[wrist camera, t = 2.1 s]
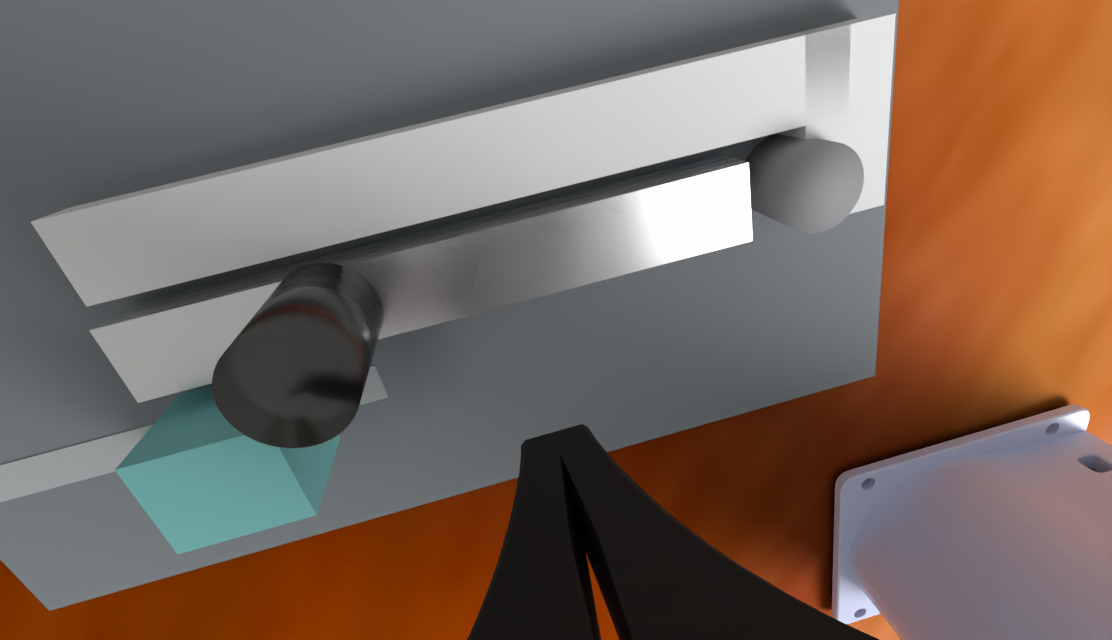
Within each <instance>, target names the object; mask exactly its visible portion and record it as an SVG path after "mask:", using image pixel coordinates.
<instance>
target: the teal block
mask: <svg viewBox="0 0 1112 640" xmlns="http://www.w3.org/2000/svg"><path fill="white" fill-rule="evenodd" d="M339 441H340V435H337V436H336V437H334V438H332V439H331V440H328V441H326V442H324V443H321V444H318V445H315V446H310V447H304V448H281V447H275V446H270V445H267V444H263V443H260V442H258V441H255V440H253V439H251V438H249V437H247V436H245V435H244V434H242V433H241V432H239V431H238V430H236V429H235V428H234V427H233V426H232V425H231V424H230V423H229V422H228V421H227V420H226V419H225V418H224V416H223V415H222V413H221V412H220V411H219V409H218V407H217V405H216V402H215V399H214V396H213V391H212V385H210V386H206V387H202V388H199V389H195V390H191V391H187V392H183V393H180V394H179V395H178V396H177V397H176V398H175V399H174V401H173V402H172V403H171V404H170V405H169V406H168V408H167V409H166V410H165V411H164V412H163V414H162V415H161V416H160V417H159V418H158V420H157V421H156V422H155V423H154V424H153V425H152V427H151V428H150V429H149V430H148V431H147V433H146V434H145V435H144V436H143V437H142V438H141V440H140V441H139V442H138V443H137V444H136V446H135V447H134V448H133V449H132V450H131V451H130V453H129V454H128V455H127V456H126V457H125V459H124V460H123V461H122V462H121V463H120V464H119V466H118V467H117V468H116V469H115V471H116V472H117V474H118V475H119V476H120V478H121V479H122V480H123V482H124V483H125V485H126V486H127V487H128V489H129V490H130V491H131V493H132V494H133V495H134V497H135V498H136V499H137V501H138V502H139V503H140V505H141V506H142V507H143V509H144V510H145V511H146V513H147V514H148V515H149V517H150V518H151V519H152V521H153V522H154V523H155V525H156V526H157V527H158V529H159V530H160V531H161V533H162V534H163V536H164V537H165V538H166V540H167V541H168V542H169V544H170V545H171V546H172V548H173V549H174V550H175V552H176V553H177V554H181V553H185V552H188V551H192V550H195V549H199V548H202V547H206V546H209V545H213V544H217V543H220V542H224V541H227V540H231V539H234V538H238V537H241V536H245V535H248V534H252V533H256V532H259V531H263V530H266V529H270V528H273V527H277V526H280V525H284V524H287V523H291V522H295V521H298V520H302V519H305V518H309V517H312V516H316V515H317V512H318V509H319V506H320V502H321V499H322V496H323V493H324V489H325V486H326V483H327V480H328V476H329V473H330V470H331V467H332V463H333V460H334V457H335V454H336V450H337V447H338V444H339Z"/></svg>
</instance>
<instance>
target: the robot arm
mask: <svg viewBox="0 0 1112 640" xmlns="http://www.w3.org/2000/svg"><path fill="white" fill-rule="evenodd" d="M1089 417H1090V413H1089V411H1088V410H1087V409H1085V408H1083V407H1081V406H1079V405H1076V404H1073V405H1068V406H1065V407H1061V408H1058V409H1054V410H1051V411H1048V412H1044V413H1041V414H1037V415H1034V416H1031V417H1027V418H1024V419H1021V420H1017V421H1014V422H1010V423H1007V424H1004V425H1000V426H997V427H993V428H990V429H987V430H983V431H980V432H976V433H973V434H970V435H966V436H963V437H959V438H956V439H953V440H949V441H946V442H943V443H939V444H936V445H932V446H929V447H926V448H922V449H919V450H915V451H912V452H909V453H905V454H902V455H898V456H895V457H892V458H888V459H885V460H881V461H878V462H875V463H871V464H868V465H865V466H861V467H858V468H854V469H851V470H848V471H845V472H843V473H842V474H841V475H840V476H839V477H838V478H837V480H836V483H835V507H834V545H833V582H832V615H833V617H834V618H835V619H834V618H832V617H830V616H828V615H826V614H824V613H822V612H820V611H819V610H817V609H815V608H813V607H811V606H809V605H807V604H806V603H804V602H802V601H800V600H798V599H796V598H794V597H792V596H791V595H789V594H787V593H785V592H784V591H782V590H780V589H779V588H777V587H775V586H774V585H772V584H770V583H769V582H767V581H765V580H764V579H762V578H760V577H759V576H757V575H755V574H754V573H752V572H750V571H749V570H747V569H745V568H744V567H742V566H740V565H739V564H737V563H736V562H734V561H733V560H731V559H730V558H728V557H727V556H725V555H724V554H722V553H721V552H720V551H718V550H717V549H715V548H714V547H712V546H711V545H709V544H708V543H707V542H705V541H704V540H703V539H701V538H700V537H699V536H697V535H696V534H694V533H693V532H692V531H690V530H689V529H688V528H687V527H685V526H684V525H683V524H682V523H680V522H679V521H678V520H677V519H675V518H674V517H673V516H672V515H671V514H669V513H668V512H667V511H666V510H665V509H664V508H662V507H661V506H660V505H659V504H658V503H657V502H656V501H654V500H653V499H652V498H651V497H650V496H649V495H648V494H647V493H646V492H645V491H644V490H642V489H641V488H640V487H639V486H638V485H637V484H636V483H635V482H634V481H633V480H632V479H631V478H630V477H629V476H628V475H627V474H626V473H625V472H624V471H623V470H622V469H621V467H620V466H619V465H618V464H617V463H616V462H615V461H614V460H613V459H612V458H611V456H610V455H609V454H608V453H607V452H606V451H605V449H604V448H603V447H602V446H601V445H600V443H599V442H598V441H597V439H596V438H595V437H594V435H593V434H592V432H591V431H590V429H589V427H587V426H585V425H583V424H580V425H576V426H573V427H569V428H566V429H562V430H559V431H555V432H552V433H548V434H545V435H541V436H538V437H534V438H531V439H527V440H525V441H524V442H523V444H522V445H521V460H520V470H519V477H518V484H517V490H516V495H515V499H514V504H513V508H512V513H511V517H510V522H509V526H508V529H507V533H506V536H505V539H504V543H503V546H502V550H501V553H500V557H499V560H498V563H497V566H496V569H495V572H494V575H493V578H492V581H491V583H490V586H489V589H488V592H487V594H486V597H485V599H484V602H483V604H482V607H481V610H480V612H479V614H478V617H477V619H476V621H475V623H474V626H473V628H472V630H471V633H470V635H469V637H468V639H467V640H601V636H600V630H599V625H598V619H597V613H596V608H595V602H594V596H593V591H592V585H591V579H590V574H589V568H588V562H587V557H586V553H587V556H588V559H589V561H590V564H591V566H592V569H593V572H594V574H595V577H596V579H597V582H598V585H599V587H600V590H601V593H602V595H603V598H604V600H605V603H606V606H607V608H608V611H609V613H610V616H611V619H612V621H613V624H614V626H615V629H616V632H617V634H618V637H619V639H620V640H879V639H877V638H874V637H872V636H870V635H868V634H866V633H864V632H861V631H859V630H857V629H855V628H853V627H851V626H849V625H847V624H849V623H852V622H856V621H859V620H862V619H865V618H868V617H872V616H875V615H878V614H881V615H882V616H883V617H884V618H885V620H886V621H887V622H888V624H889V625H890V626H891V627H892V629H893V630H894V631H895V632H896V634H897V635H898V636H899V638H900V639H901V640H1112V446H1111V445H1110V444H1108V443H1106V442H1104V441H1103V440H1101V439H1099V438H1097V437H1096V436H1094V435H1092V434H1090V433H1089V432H1087V431H1086V429H1087V425H1088V422H1089Z"/></svg>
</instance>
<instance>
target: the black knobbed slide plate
mask: <svg viewBox="0 0 1112 640" xmlns="http://www.w3.org/2000/svg"><path fill="white" fill-rule="evenodd" d="M750 241H753V237H752V217H751V197H750V177H749V162H745V161H742V160H739V159H736V158H733V157H730V156H727V155H721V156H717V157H713V158H709V159H705V160H701V161H697V162H693V163H689V164H685V165H681V166H678V167H674V168H670V169H666V170H662V171H658V172H654V173H650V174H646V175H642V176H638V177H634V178H630V179H626V180H622V181H618V182H614V183H610V184H606V185H602V186H598V187H594V188H590V189H587V190H583V191H579V192H575V193H571V194H567V195H563V196H559V197H555V198H551V199H547V200H543V201H539V202H535V203H531V204H527V205H523V206H519V207H515V208H511V209H507V210H503V211H499V212H496V213H492V214H488V215H484V216H480V217H476V218H472V219H468V220H464V221H460V222H456V223H452V224H448V225H444V226H440V227H436V228H432V229H428V230H424V231H420V232H416V233H412V234H408V235H405V236H401V237H397V238H393V239H389V240H385V241H381V242H377V243H373V244H369V245H365V246H361V247H357V248H353V249H349V250H345V251H341V252H337V253H333V254H329V255H325V256H321V257H317V258H314V259H310V260H306V261H302V262H298V263H294V264H290V265H286V266H282V267H278V268H274V269H270V270H266V271H262V272H258V273H254V274H250V275H246V276H242V277H238V278H234V279H230V280H226V281H223V282H219V283H215V284H211V285H207V286H203V287H199V288H195V289H191V290H187V291H183V292H179V293H175V294H171V295H167V296H163V297H159V298H155V299H151V300H147V301H143V302H139V303H135V304H132V305H128V306H124V307H121V308H120V309H118V310H117V311H115V312H114V313H113V314H111V315H110V316H109V317H107V318H106V319H104V320H103V321H102V322H100V323H99V324H97V325H96V326H95V327H93V328H92V329H90V330H89V331H90V332H91V334H92V335H93V337H94V338H95V340H96V341H97V343H98V344H99V346H100V347H101V349H102V350H103V352H104V353H105V355H106V356H107V358H108V359H109V361H110V362H111V364H112V365H113V367H114V368H115V370H116V371H117V373H118V374H119V376H120V377H121V379H122V380H123V381H124V383H125V384H126V386H127V387H128V389H129V390H130V392H131V393H132V395H133V396H134V398H135V399H136V401H137V402H138V403H140V402H144V401H147V400H151V399H155V398H159V397H163V396H166V395H170V394H174V393H178V392H182V391H185V390H189V389H193V388H197V387H200V386H204V385H208V384H212V391H213V396H214V399H215V402H216V405H217V407H218V409H219V411H220V412H221V413H222V415H223V416H224V418H225V419H226V420H227V421H228V422H229V423H230V424H231V425H232V426H233V427H234V428H235V429H236V430H238V431H239V432H241V433H242V434H244V435H245V436H247V437H249V438H251V439H253V440H255V441H258V442H260V443H263V444H267V445H270V446H275V447H281V448H304V447H310V446H315V445H318V444H321V443H324V442H326V441H328V440H331V439H332V438H334V437H336V436H337V435H339V434H340V433H341V432H342V431H344V430H345V429H346V428H347V427H348V426H349V425H350V423H351V422H352V420H353V419H354V417H355V415H356V413H357V411H358V408H359V405H360V401H361V397H362V394H363V390H364V387H365V383H366V380H367V376H368V373H369V369H370V365H371V362H372V358H373V355H374V351H375V348H376V344H377V341H378V340H379V339H382V338H386V337H390V336H394V335H397V334H401V333H405V332H409V331H413V330H416V329H420V328H424V327H428V326H432V325H435V324H439V323H443V322H447V321H451V320H454V319H458V318H462V317H466V316H469V315H473V314H477V313H481V312H485V311H488V310H492V309H496V308H500V307H504V306H507V305H511V304H515V303H519V302H523V301H526V300H530V299H534V298H538V297H541V296H545V295H549V294H553V293H557V292H560V291H564V290H568V289H572V288H576V287H579V286H583V285H587V284H591V283H594V282H598V281H602V280H606V279H610V278H613V277H617V276H621V275H625V274H629V273H632V272H636V271H640V270H644V269H648V268H651V267H655V266H659V265H663V264H666V263H670V262H674V261H678V260H682V259H685V258H689V257H693V256H697V255H701V254H704V253H708V252H712V251H716V250H720V249H723V248H727V247H731V246H735V245H738V244H742V243H746V242H750Z"/></svg>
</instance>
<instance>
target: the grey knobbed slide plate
mask: <svg viewBox="0 0 1112 640" xmlns="http://www.w3.org/2000/svg"><path fill="white" fill-rule="evenodd" d="M898 4H899V0H0V560H1V561H2V562H3V563H4V564H5V565H6V566H7V567H8V568H9V569H10V570H11V571H12V572H13V573H14V574H15V575H16V577H17V578H18V579H19V580H20V581H21V582H22V583H23V584H24V585H25V586H26V587H27V588H28V589H29V590H30V591H31V592H32V593H33V594H34V595H35V596H36V597H37V598H38V599H39V601H40V602H41V603H42V604H43V605H44V606H45V607H46V608H47V609H48V610H49V611H50V610H54V609H57V608H61V607H64V606H68V605H71V604H75V603H78V602H82V601H85V600H89V599H92V598H96V597H100V596H103V595H107V594H110V593H114V592H117V591H121V590H124V589H128V588H131V587H135V586H138V585H142V584H145V583H149V582H152V581H156V580H159V579H163V578H166V577H170V576H173V575H177V574H180V573H184V572H187V571H191V570H194V569H198V568H201V567H205V566H209V565H212V564H216V563H219V562H223V561H226V560H230V559H233V558H237V557H240V556H244V555H247V554H251V553H254V552H258V551H261V550H265V549H268V548H272V547H275V546H279V545H282V544H286V543H289V542H293V541H296V540H300V539H303V538H307V537H310V536H314V535H318V534H321V533H325V532H328V531H332V530H335V529H339V528H342V527H346V526H349V525H353V524H356V523H360V522H363V521H367V520H370V519H374V518H377V517H381V516H384V515H388V514H391V513H395V512H398V511H402V510H405V509H409V508H412V507H416V506H420V505H423V504H427V503H430V502H434V501H437V500H441V499H444V498H448V497H451V496H455V495H458V494H462V493H465V492H469V491H472V490H476V489H479V488H483V487H486V486H490V485H493V484H497V483H500V482H504V481H507V480H511V479H514V478H518V477H519V470H520V460H521V445H522V444H523V442H524V441H525V440H527V439H531V438H534V437H538V436H541V435H545V434H548V433H552V432H555V431H559V430H562V429H566V428H569V427H573V426H576V425H580V424H583V425H585V426H587V427H589V429H590V431H591V432H592V434H593V435H594V437H595V438H596V439H597V441H598V442H599V443H600V445H601V446H602V447H603V448H604V449H605V451H606V452H609V451H613V450H616V449H620V448H623V447H627V446H630V445H634V444H638V443H641V442H645V441H648V440H652V439H655V438H659V437H662V436H666V435H669V434H673V433H676V432H680V431H683V430H687V429H690V428H694V427H697V426H701V425H704V424H708V423H711V422H715V421H718V420H722V419H725V418H729V417H732V416H736V415H739V414H743V413H747V412H750V411H754V410H757V409H761V408H764V407H768V406H771V405H775V404H778V403H782V402H785V401H789V400H792V399H796V398H799V397H803V396H806V395H810V394H813V393H817V392H820V391H824V390H827V389H831V388H834V387H838V386H841V385H845V384H849V383H852V382H856V381H859V380H863V379H866V378H870V377H873V376H875V371H876V355H877V339H878V323H879V307H880V291H881V275H882V259H883V243H884V228H885V212H886V196H887V180H888V164H889V148H890V132H891V116H892V100H893V84H894V68H895V52H896V36H897V20H898ZM721 155H727V156H730V157H733V158H736V159H739V160H742V161H745V162H749V177H750V197H751V217H752V237H753V241H750V242H746V243H742V244H738V245H735V246H731V247H727V248H723V249H720V250H716V251H712V252H708V253H704V254H701V255H697V256H693V257H689V258H685V259H682V260H678V261H674V262H670V263H666V264H663V265H659V266H655V267H651V268H648V269H644V270H640V271H636V272H632V273H629V274H625V275H621V276H617V277H613V278H610V279H606V280H602V281H598V282H594V283H591V284H587V285H583V286H579V287H576V288H572V289H568V290H564V291H560V292H557V293H553V294H549V295H545V296H541V297H538V298H534V299H530V300H526V301H523V302H519V303H515V304H511V305H507V306H504V307H500V308H496V309H492V310H488V311H485V312H481V313H477V314H473V315H469V316H466V317H462V318H458V319H454V320H451V321H447V322H443V323H439V324H435V325H432V326H428V327H424V328H420V329H416V330H413V331H409V332H405V333H401V334H397V335H394V336H390V337H386V338H382V339H379V340H378V341H377V344H376V348H375V351H374V355H373V358H372V362H371V365H370V369H369V373H368V376H367V380H366V383H365V387H364V390H363V394H362V397H361V401H360V405H359V408H358V411H357V413H356V415H355V417H354V419H353V420H352V422H351V423H350V425H349V426H348V427H347V428H346V429H345V430H344V431H342V432H341V433H340V434H339V435H340V441H339V444H338V447H337V450H336V454H335V457H334V460H333V463H332V467H331V470H330V473H329V476H328V480H327V483H326V486H325V489H324V493H323V496H322V499H321V502H320V506H319V509H318V512H317V515H316V516H312V517H309V518H305V519H302V520H298V521H295V522H291V523H287V524H284V525H280V526H277V527H273V528H270V529H266V530H263V531H259V532H256V533H252V534H248V535H245V536H241V537H238V538H234V539H231V540H227V541H224V542H220V543H217V544H213V545H209V546H206V547H202V548H199V549H195V550H192V551H188V552H185V553H181V554H177V553H176V552H175V550H174V549H173V548H172V546H171V545H170V544H169V542H168V541H167V540H166V538H165V537H164V536H163V534H162V533H161V531H160V530H159V529H158V527H157V526H156V525H155V523H154V522H153V521H152V519H151V518H150V517H149V515H148V514H147V513H146V511H145V510H144V509H143V507H142V506H141V505H140V503H139V502H138V501H137V499H136V498H135V497H134V495H133V494H132V493H131V491H130V490H129V489H128V487H127V486H126V485H125V483H124V482H123V480H122V479H121V478H120V476H119V475H118V474H117V472H116V471H115V469H116V468H117V467H118V466H119V464H120V463H121V462H122V461H123V460H124V459H125V457H126V456H127V455H128V454H129V453H130V451H131V450H132V449H133V448H134V447H135V446H136V444H137V443H138V442H139V441H140V440H141V438H142V437H143V436H144V435H145V434H146V433H147V431H148V430H149V429H150V428H151V427H152V425H153V424H154V423H155V422H156V421H157V420H158V418H159V417H160V416H161V415H162V414H163V412H164V411H165V410H166V409H167V408H168V406H169V405H170V404H171V403H172V402H173V401H174V399H175V398H176V397H177V396H178V395H179V394H180V393H183V392H187V391H191V390H195V389H199V388H202V387H206V386H210V385H212V384H208V385H204V386H200V387H197V388H193V389H189V390H185V391H182V392H178V393H174V394H170V395H166V396H163V397H159V398H155V399H151V400H147V401H144V402H140V403H138V402H137V401H136V399H135V398H134V396H133V395H132V393H131V392H130V390H129V389H128V387H127V386H126V384H125V383H124V381H123V380H122V379H121V377H120V376H119V374H118V373H117V371H116V370H115V368H114V367H113V365H112V364H111V362H110V361H109V359H108V358H107V356H106V355H105V353H104V352H103V350H102V349H101V347H100V346H99V344H98V343H97V341H96V340H95V338H94V337H93V335H92V334H91V332H90V331H89V330H90V329H92V328H93V327H95V326H96V325H97V324H99V323H100V322H102V321H103V320H104V319H106V318H107V317H109V316H110V315H111V314H113V313H114V312H115V311H117V310H118V309H120V308H121V307H124V306H128V305H132V304H135V303H139V302H143V301H147V300H151V299H155V298H159V297H163V296H167V295H171V294H175V293H179V292H183V291H187V290H191V289H195V288H199V287H203V286H207V285H211V284H215V283H219V282H223V281H226V280H230V279H234V278H238V277H242V276H246V275H250V274H254V273H258V272H262V271H266V270H270V269H274V268H278V267H282V266H286V265H290V264H294V263H298V262H302V261H306V260H310V259H314V258H317V257H321V256H325V255H329V254H333V253H337V252H341V251H345V250H349V249H353V248H357V247H361V246H365V245H369V244H373V243H377V242H381V241H385V240H389V239H393V238H397V237H401V236H405V235H408V234H412V233H416V232H420V231H424V230H428V229H432V228H436V227H440V226H444V225H448V224H452V223H456V222H460V221H464V220H468V219H472V218H476V217H480V216H484V215H488V214H492V213H496V212H499V211H503V210H507V209H511V208H515V207H519V206H523V205H527V204H531V203H535V202H539V201H543V200H547V199H551V198H555V197H559V196H563V195H567V194H571V193H575V192H579V191H583V190H587V189H590V188H594V187H598V186H602V185H606V184H610V183H614V182H618V181H622V180H626V179H630V178H634V177H638V176H642V175H646V174H650V173H654V172H658V171H662V170H666V169H670V168H674V167H678V166H681V165H685V164H689V163H693V162H697V161H701V160H705V159H709V158H713V157H717V156H721Z"/></svg>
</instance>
